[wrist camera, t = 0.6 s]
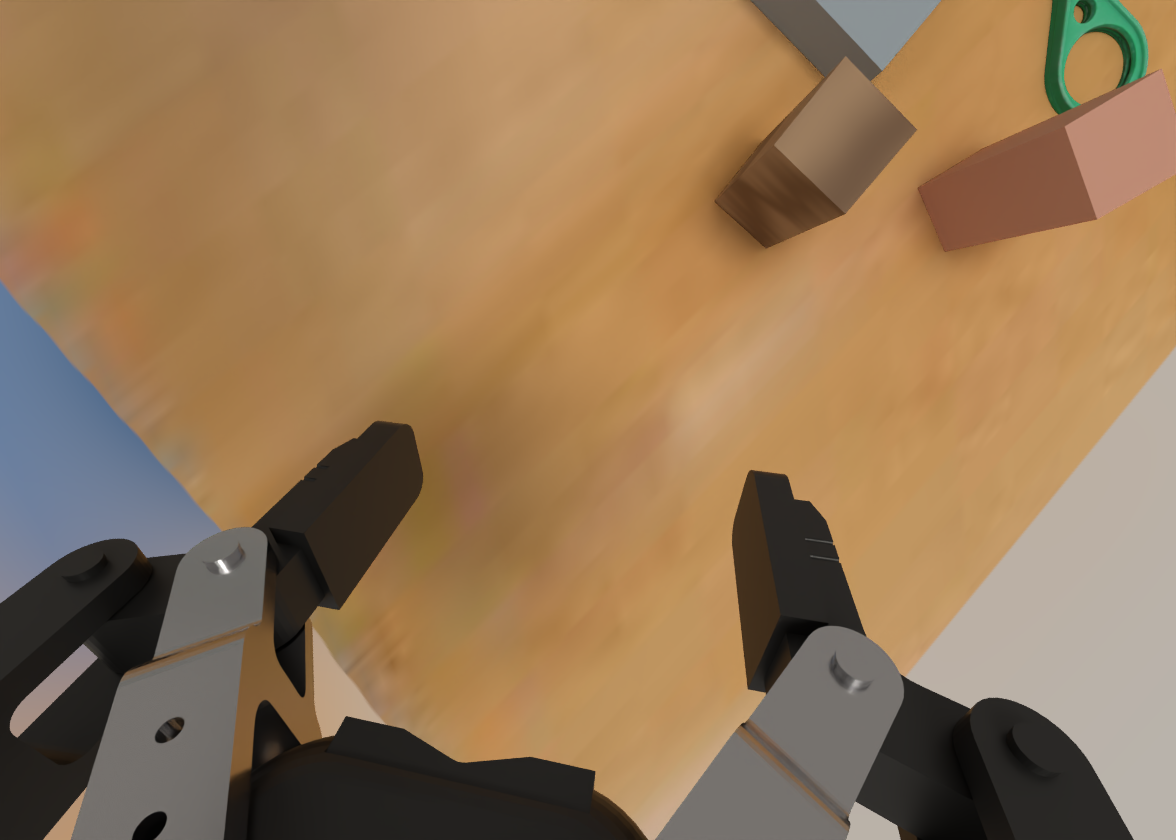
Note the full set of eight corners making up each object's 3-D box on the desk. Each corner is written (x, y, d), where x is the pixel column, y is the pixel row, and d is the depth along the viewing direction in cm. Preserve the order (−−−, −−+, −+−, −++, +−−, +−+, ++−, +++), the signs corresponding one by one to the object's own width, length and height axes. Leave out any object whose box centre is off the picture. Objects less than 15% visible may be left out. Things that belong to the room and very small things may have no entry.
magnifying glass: (1138, 98, 32) (1169, 85, 30) (1056, 144, 33) (1082, 134, 31) (1072, -135, 29) (1102, -163, 28) (983, -80, 30) (1007, -105, 28)
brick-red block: (917, 187, 33) (1064, 126, 23) (983, 148, 32) (1161, 68, 22) (944, 251, 33) (1097, 219, 24) (1008, 213, 33) (1191, 165, 23)
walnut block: (714, 201, 32) (773, 145, 23) (762, 140, 32) (845, 56, 22) (765, 248, 33) (845, 214, 23) (814, 190, 32) (917, 129, 23)
